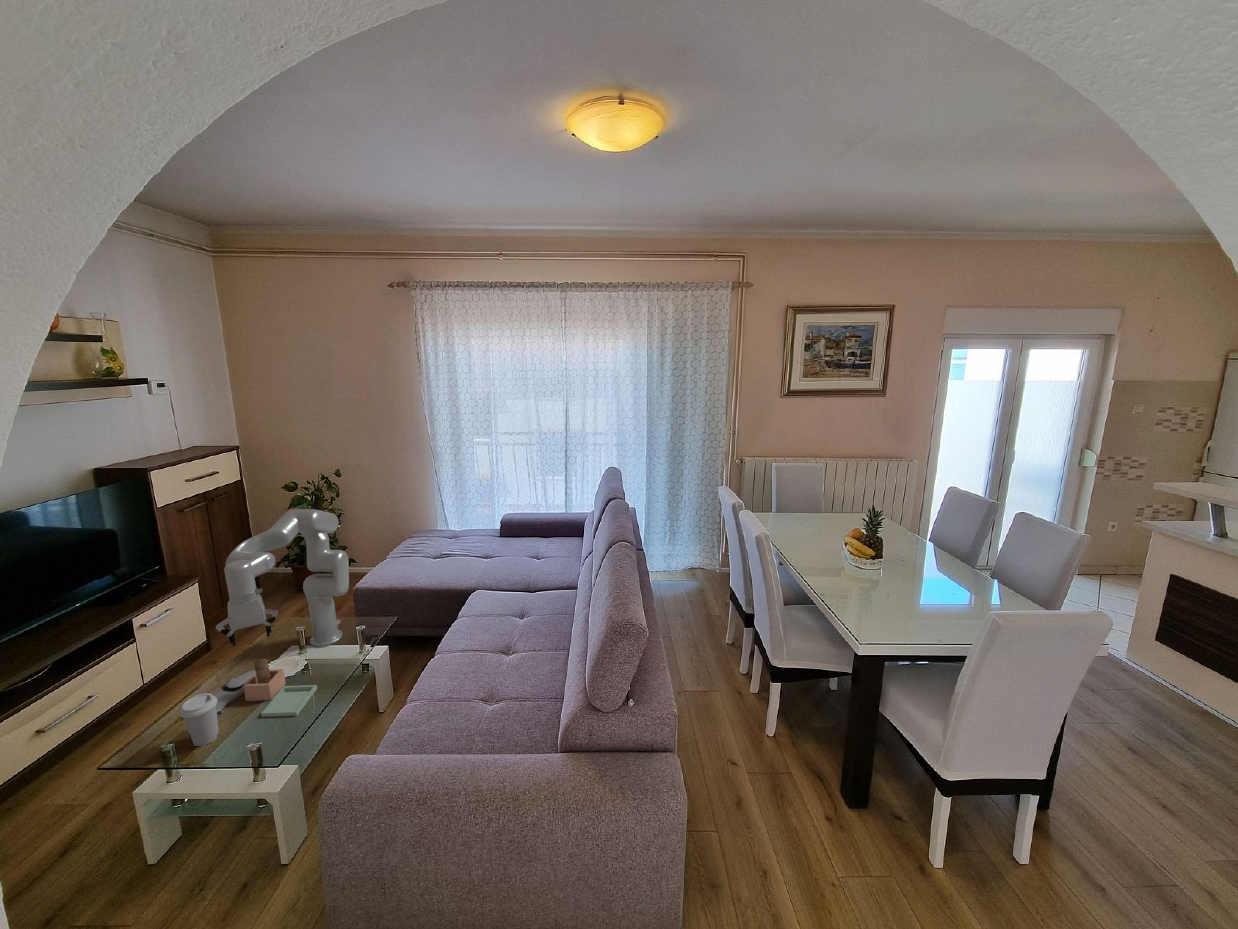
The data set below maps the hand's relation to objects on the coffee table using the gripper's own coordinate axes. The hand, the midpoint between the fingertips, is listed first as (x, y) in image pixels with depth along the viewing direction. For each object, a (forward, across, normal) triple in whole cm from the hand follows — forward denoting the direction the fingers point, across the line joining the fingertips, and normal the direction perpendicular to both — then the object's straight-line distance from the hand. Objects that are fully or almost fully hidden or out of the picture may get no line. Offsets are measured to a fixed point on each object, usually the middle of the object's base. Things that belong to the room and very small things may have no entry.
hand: (251, 639), depth 170 cm
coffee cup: (+29, +16, +6) cm, 34 cm away
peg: (+28, -1, -8) cm, 29 cm away
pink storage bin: (+29, -1, -8) cm, 30 cm away
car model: (+30, +10, -14) cm, 34 cm away
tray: (+29, -8, +3) cm, 30 cm away
